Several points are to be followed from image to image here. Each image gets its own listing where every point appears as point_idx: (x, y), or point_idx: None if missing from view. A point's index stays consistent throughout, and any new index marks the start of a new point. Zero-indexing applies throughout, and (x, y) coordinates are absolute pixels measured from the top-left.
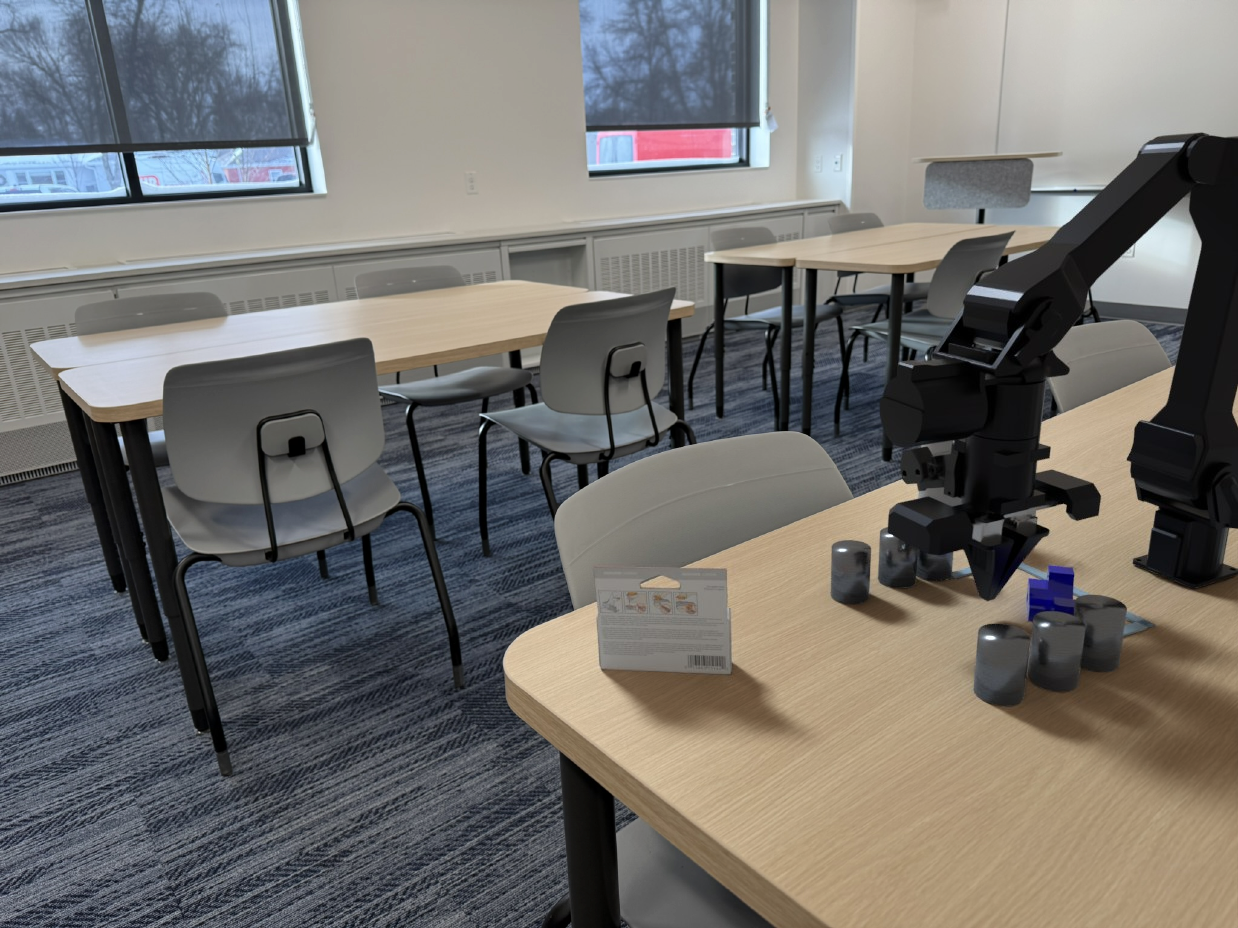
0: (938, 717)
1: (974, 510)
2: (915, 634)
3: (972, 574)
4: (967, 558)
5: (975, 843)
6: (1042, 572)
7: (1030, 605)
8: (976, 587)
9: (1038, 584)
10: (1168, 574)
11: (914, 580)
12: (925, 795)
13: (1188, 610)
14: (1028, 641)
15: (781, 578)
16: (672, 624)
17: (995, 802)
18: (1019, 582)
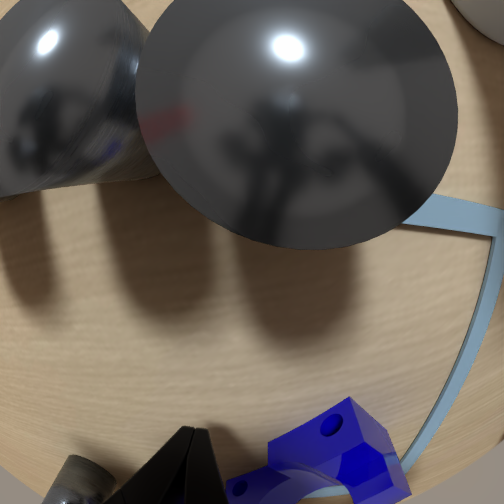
0: (28, 443)
1: None
2: (43, 356)
3: (143, 466)
4: (107, 500)
5: (27, 477)
6: (488, 321)
7: (276, 465)
8: (167, 441)
9: (347, 462)
10: None
11: (152, 174)
12: (9, 454)
13: (459, 458)
14: None
15: None
16: None
17: (43, 482)
18: (427, 326)
